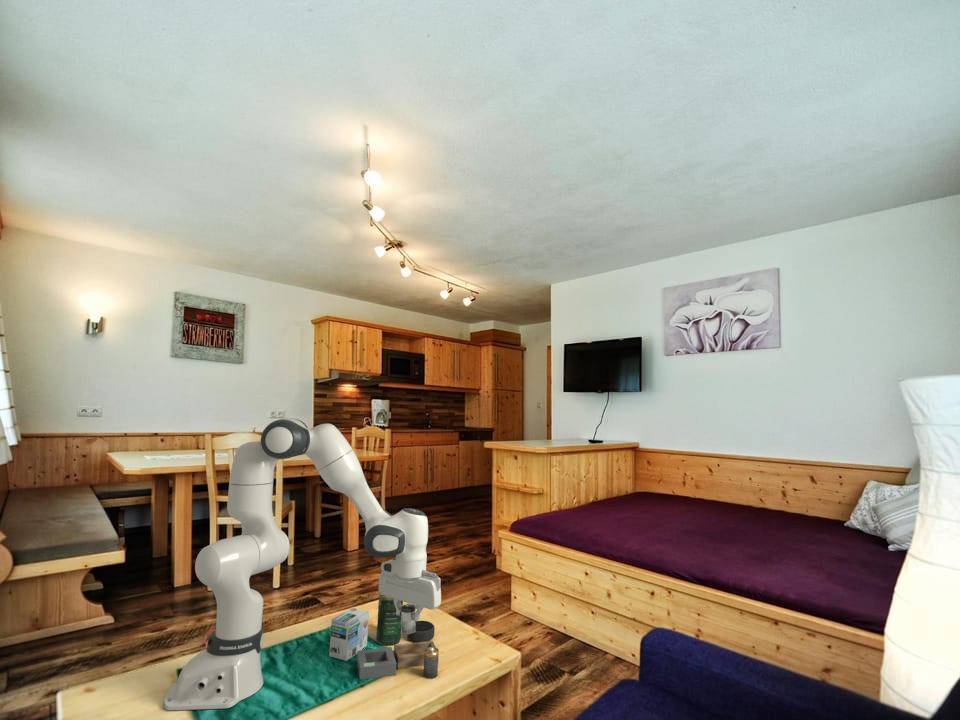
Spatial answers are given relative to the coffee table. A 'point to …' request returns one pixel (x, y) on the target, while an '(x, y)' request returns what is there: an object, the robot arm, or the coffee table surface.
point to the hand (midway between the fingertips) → (407, 617)
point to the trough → (411, 654)
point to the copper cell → (430, 662)
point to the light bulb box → (349, 633)
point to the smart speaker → (422, 632)
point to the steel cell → (408, 619)
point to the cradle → (376, 663)
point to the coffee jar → (388, 621)
